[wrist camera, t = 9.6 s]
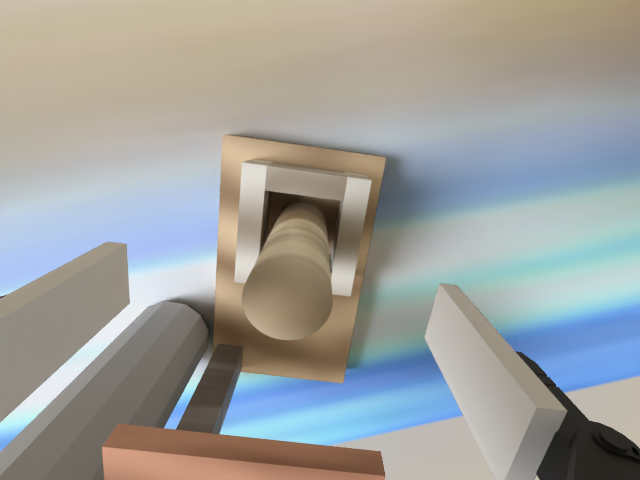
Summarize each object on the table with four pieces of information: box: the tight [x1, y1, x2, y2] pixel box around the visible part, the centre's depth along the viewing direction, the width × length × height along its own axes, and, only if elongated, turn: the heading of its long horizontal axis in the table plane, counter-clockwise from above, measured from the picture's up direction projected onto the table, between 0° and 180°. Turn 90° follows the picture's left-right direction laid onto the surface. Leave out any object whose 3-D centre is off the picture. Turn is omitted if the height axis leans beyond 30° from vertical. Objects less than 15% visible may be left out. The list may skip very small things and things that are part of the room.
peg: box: [242, 198, 333, 340], centre depth 21 cm, size 4×4×14 cm
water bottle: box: [0, 301, 209, 480], centre depth 22 cm, size 9×8×25 cm
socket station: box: [102, 135, 386, 480], centre depth 23 cm, size 22×13×18 cm, turn 172°
